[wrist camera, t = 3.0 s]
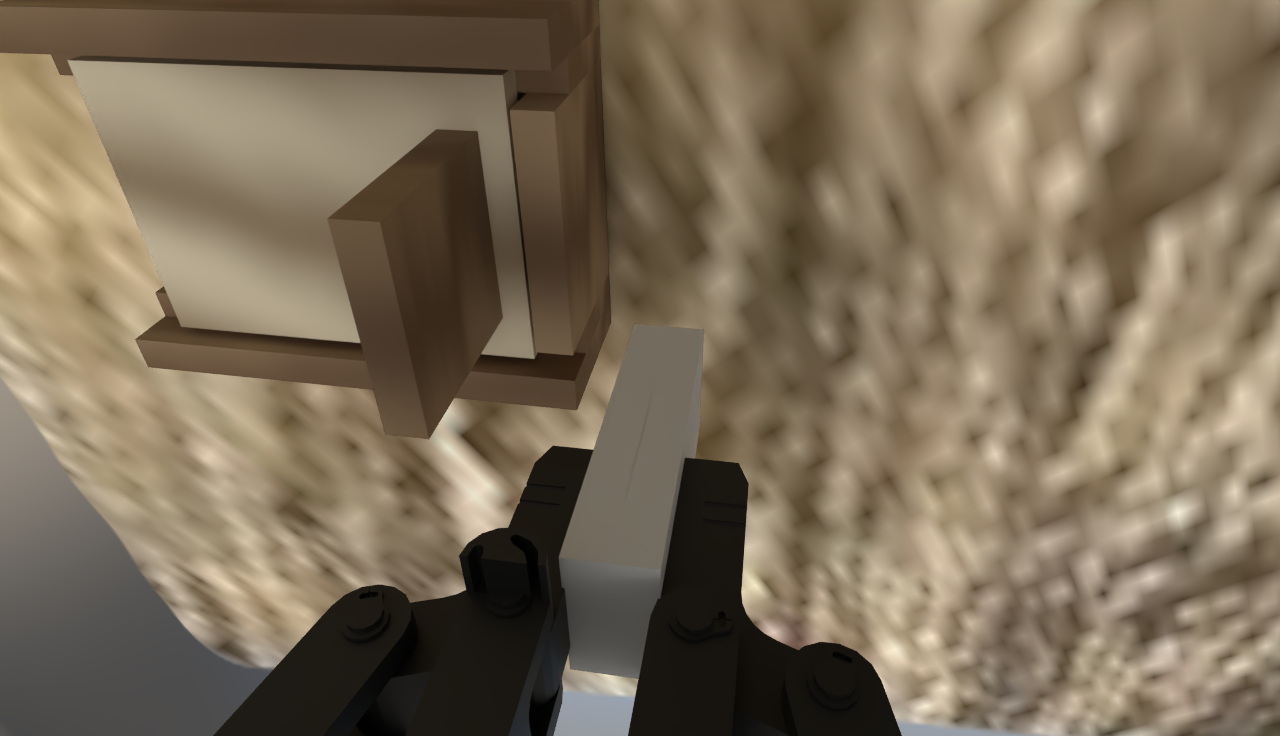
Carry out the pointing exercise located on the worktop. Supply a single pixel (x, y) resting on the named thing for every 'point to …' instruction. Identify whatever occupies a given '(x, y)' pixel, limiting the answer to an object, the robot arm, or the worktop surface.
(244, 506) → the worktop surface
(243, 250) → the cover plate
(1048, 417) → the worktop surface
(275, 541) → the worktop surface
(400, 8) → the walnut box
